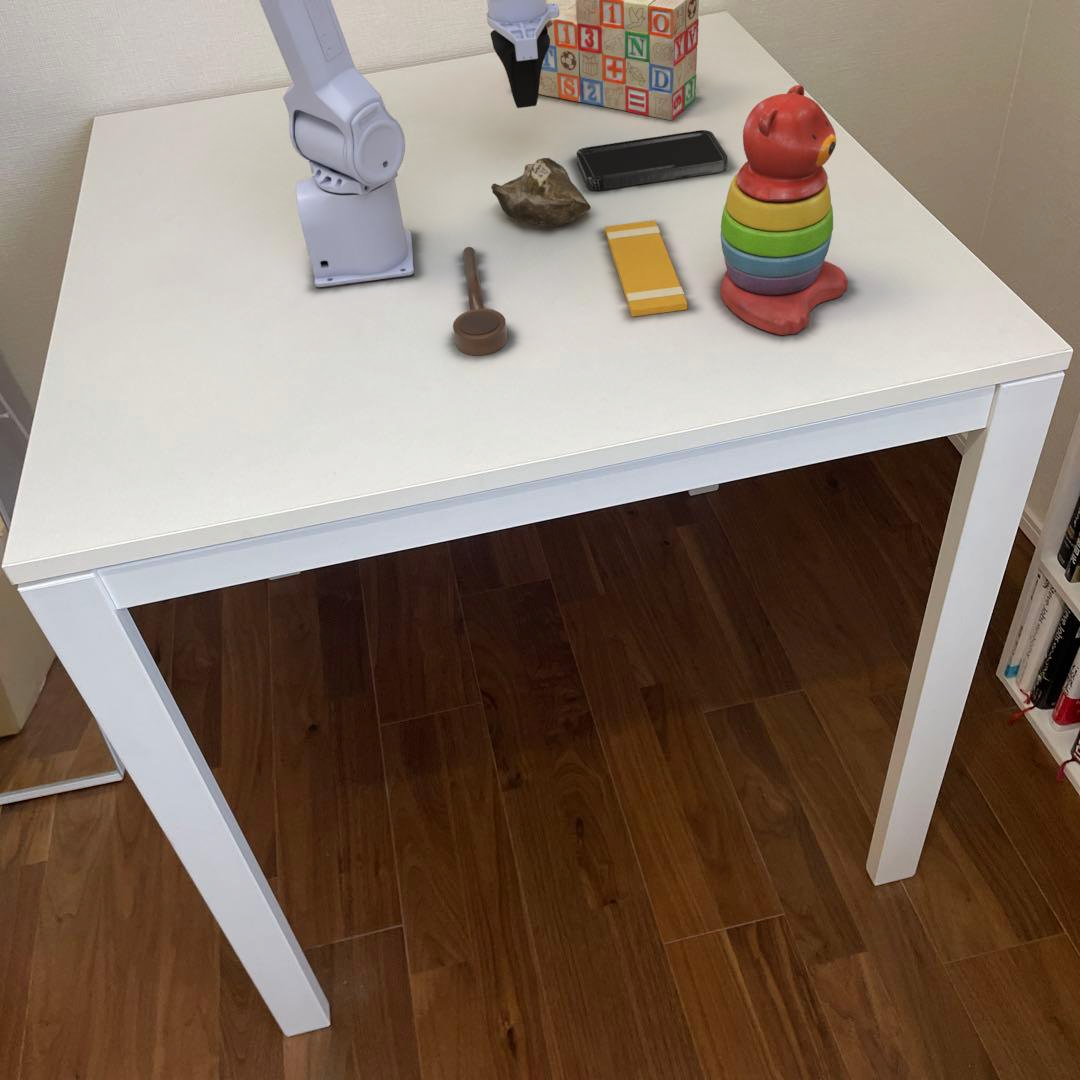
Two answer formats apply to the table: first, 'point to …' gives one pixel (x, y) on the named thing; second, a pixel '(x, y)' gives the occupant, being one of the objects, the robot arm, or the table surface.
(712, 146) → the phone
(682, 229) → the table surface
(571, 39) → the stack of blocks
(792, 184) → the stacking bear
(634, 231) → the towel
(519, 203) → the fossilized seashell
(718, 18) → the table surface
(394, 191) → the robot arm
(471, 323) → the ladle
